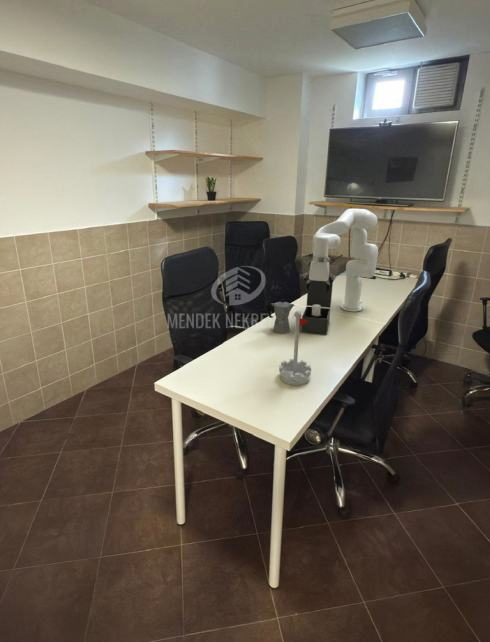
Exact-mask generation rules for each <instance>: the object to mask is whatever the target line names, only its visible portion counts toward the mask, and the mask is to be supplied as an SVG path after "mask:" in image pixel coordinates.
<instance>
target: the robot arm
mask: <svg viewBox="0 0 490 642" xmlns="http://www.w3.org/2000/svg"><path fill="white" fill-rule="evenodd" d="M377 225H378V217H377V215H376V214H375V213H373V212H372V211H370V210H368V209H366V208H348V209H346V210H345V211H344V212H343V213H342V214H340V216H339V217H338V218H337V219H336V220H335V221H332V222H330V223H328V224H325V225H323V226H322V227H320V228H319V229H318V230H317V231H316V232H315V233H314V235H313V238H312V243H313V249H312V250H313V251H312V260H311V261H310V266H309V271H307V272H305V273H302V275H301V276H302V278H303V280H304V281H305V283H306V289H307V292H308V291H309V290H310V281H311V280H315V281H326V283H327V287H326V292H328V290H329V287H330V284H331V283H332V282H333V283H334V281H335V280H336V278H337V277H336V275H334V274H332V273H330V262H329V261H331V257H329V249H330V250H331V249H336V248H338V247H339V246H340V244H341V237H340V236H339V235H344V234H347V233H348V231H350V230H351V233H352V239H351V244H350V245H351V246H350V256H351V257H352V258H354V259H349V260H348V261H347V262H346V264H345V274H346V280H345V292H344V302H343V303H342V304H341V309H342V310H344V311H347V312H355V313H356V312H361V311H362V310H363V307H362V306H361V304H362V303H363V300H362V299H361V296H362V287H363V281H362V278H368V279H372V278H373V277H374V276H375V274H376V271H377V264H378V257H379V256H378V255H379V248H378V246H377V245H376V244H374V243H368V231H367V230H373V229H375V228H376V227H377ZM360 259H362V260H360ZM307 276H308V277H307ZM329 276H330V277H332V280H331V281H329V280H328V279H329ZM361 277H362V278H361Z"/></svg>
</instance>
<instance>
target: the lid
mask: <svg viewBox="0 0 490 642" xmlns="http://www.w3.org/2000/svg"><path fill="white" fill-rule="evenodd" d="M328 280H329V281H331V280H332V277H330V276H329V279H328ZM333 285H334V281H333V282H332V283H331V284H330V287H329V290H328V292H326V287H327V283H326V281H315V280H311V281H310V290H309V291H308V290H307V294H306V306H309V307H312V305H315V304H316V305H320V306H321V308H329V309H332V308H331V307H332V298H333V297H332V295H333Z"/></svg>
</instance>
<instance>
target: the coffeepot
mask: <svg viewBox="0 0 490 642" xmlns="http://www.w3.org/2000/svg"><path fill="white" fill-rule="evenodd" d="M295 306H296V305H295V304H294V303H289V302H287V301H285V299H284V298H281V299H280V301H278V302H277V301H276V302H275V303H268V304H266V306H265V308H266V309H265V310H266V311H267V314H268V317H269V318H270V319H273V318H274V316H275V318H274V319H275V320H274V323H273V324H274V325H273V332H275V333H279V334H287V333H289V332H290V329H291V326H290V321H289V316H290V313H291V311H292V309H293V308H294V307H295ZM271 308H273V309H274V316H273V315H272V312H271Z"/></svg>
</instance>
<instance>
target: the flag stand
mask: <svg viewBox="0 0 490 642" xmlns="http://www.w3.org/2000/svg"><path fill="white" fill-rule="evenodd" d="M293 316H294V318H295V325H294V326H295V327H294V343H293V344H294V348H293V358H290V359H289V361H286V360H282V361H281V362H280V365H279V370H278V372H279V374H280V375H281V380H282V381H283V382H285V383H286V384H289V385H291V386H301V385H304V384H306V383H307V382H308V381H309V377H311V375H312V366H311V364H307V361H305V360H300V361H298V357H299V355H298V354H299V340H300V339H299V337H300V336H299V335H300V328H301V327H302V325H304V324H305V323H306V322H308V321H307V320H305V319H302V316H303V314H302V311H300V310H296V311H294V313H293Z"/></svg>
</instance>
